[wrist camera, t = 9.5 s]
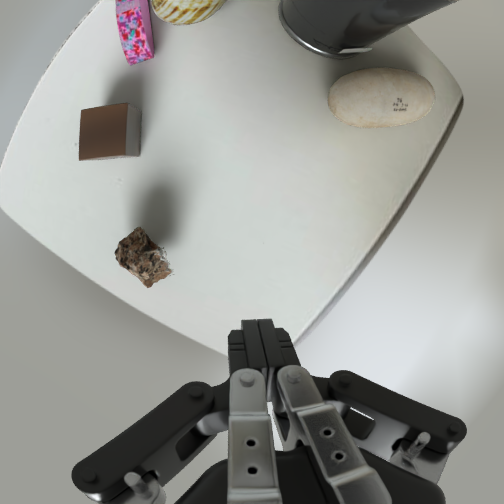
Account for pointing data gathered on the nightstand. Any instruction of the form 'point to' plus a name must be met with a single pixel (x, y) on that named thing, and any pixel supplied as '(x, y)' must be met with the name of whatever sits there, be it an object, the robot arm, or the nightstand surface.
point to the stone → (380, 97)
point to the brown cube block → (110, 132)
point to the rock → (142, 258)
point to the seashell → (185, 10)
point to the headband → (135, 30)
